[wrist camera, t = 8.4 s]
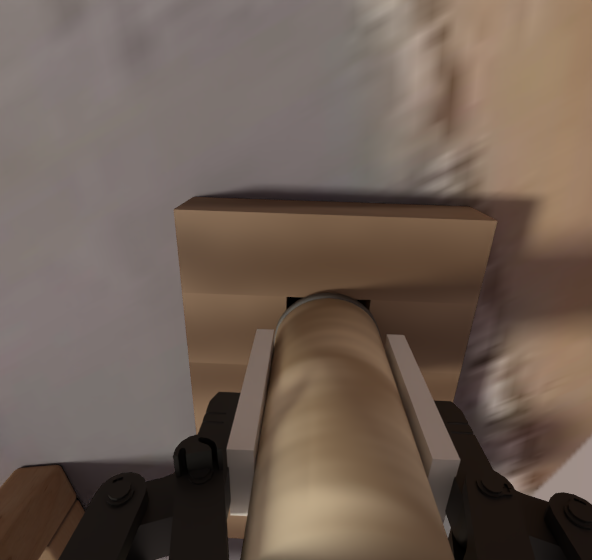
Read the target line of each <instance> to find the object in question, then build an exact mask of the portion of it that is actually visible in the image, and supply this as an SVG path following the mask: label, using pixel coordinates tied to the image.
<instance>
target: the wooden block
mask: <svg viewBox="0 0 592 560" xmlns="http://www.w3.org/2000/svg"><path fill="white" fill-rule="evenodd" d="M84 513H85V511H84V509H83V507H82V506H81V504H80V502H79V501H78V500H76V493H75V491H74V489H73V488H72V486H71V484H70V482H69V480H68V478H67V476H66V474H65V473H64V471H63V469H62V467H61V466H59V465H48V466H36V467H24V468H18V469H17V470H15V471H14V472H13V473H12V474H11V476H10V477H9V478H8V479H7V480H6V481H5V483H4V484H3V485H2V486H1V487H0V560H58V559H59V557H60V555H61V554H62V552H63V550H64V548H65V547H66V545H67V543H68V541H69V540H70V538H71V536H72V534H73V532H74V531H75V529H76V527H77V525H78V524H79V522H80V520H81V518H82V517H83V515H84Z"/></svg>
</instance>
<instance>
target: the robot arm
mask: <svg viewBox="0 0 592 560" xmlns="http://www.w3.org/2000/svg"><path fill="white" fill-rule="evenodd" d="M273 351H274V330H270V329H257V331H256V335H255V339H254V343H253V346H252V350H251V354H250V358H249V362H248V366H247V370H246V374H245V378H244V382H243V386H242V390H241V393H237V392H218V393H217V394H216V395H215V396H214V397H213V398H212V399H211V400H210V401H209V404H208V407H207V410H206V414H205V415H204V418H203V422H202V424H201V427H200V429H199V432H198V434H197V435H194V436H190V437H188V438H187V439H185V440H183V441H182V442H181V443H180V444H179V445H178V446H177V447H176V449H175V452H174V455H173V459H174V466H175V473H173V474H171V475H169V476H166V477H163V478H160V479H155V480H151V481H147V482H145V479H144V478H143V477H142V476H141V475H139V474H136V473H132V472H129V473H121V474H119V475H117V476H114V477H112V478H110V479H109V480H108V481H106V482H105V483H104V484H102V486H101V487H100V488H99V489H98V491H97V492H96V494H95V495H94V497H93V499H92V501H91V502H90V504H89V506H88V508H87V509H86V511H85V513H84V515H83V517H82V518H81V520H80V522H79V524H78V525H77V527H76V529H75V531H74V532H73V534H72V536H71V538H70V540H69V541H68V543H67V545H66V547H65V548H64V550H63V552H62V554H61V555H60V557H59V559H58V560H155V559H159V558H162V557H165V556H169V560H229V550H228V530H227V518H228V513H229V508H230V515H235V516H247V514H248V508H249V502H250V495H251V489H252V483H253V477H254V472H255V466H256V459H257V453H258V447H259V440H260V434H261V427H262V421H263V415H264V408H265V402H266V395H267V389H268V383H269V376H270V370H271V364H272V357H273ZM385 353H386V356H387V359H388V362H389V365H390V368H391V371H392V374H393V377H394V380H395V383H396V386H397V389H398V392H399V394H400V397H401V400H402V403H403V406H404V409H405V412H406V415H407V418H408V421H409V424H410V427H411V430H412V433H413V436H414V439H415V442H416V445H417V448H418V451H419V454H420V457H421V460H422V463H423V466H424V469H425V472H426V475H427V478H428V481H429V484H430V487H431V490H432V493H433V496H434V499H435V502H436V505H437V508H438V511H439V514H440V517H441V520H442V523H443V522H444V519H445V515H447V518H448V520H449V523H450V526H451V530H450V534H449V537H448V541H449V544H450V547H451V550H452V553H453V556H454V559H455V560H592V505H591V504H590V503H589V502H587V501H586V500H584V499H582V498H580V497H578V496H576V495H574V494H569V493H556V494H554V495H553V496H552V497H551V498H550V500H549V502H547V501H544V500H541V499H538V498H535V497H532V496H528V495H525V494H523V493H520V492H518V491H516V490H515V489H514V487H513V485H512V484H511V483H510V482H509V481H508V480H507V479H506V478H505V477H503V476H502V475H500V474H499V473H497V472H495V471H494V470H493V469H492V467H491V465H490V463H489V461H488V459H487V457H486V456H485V454H484V452H483V450H482V448H481V446H480V444H479V442H478V441H477V439H476V437H475V435H473V431H472V429H471V427H470V426H469V425H468V422H467V420H466V418H465V416H464V414H463V412H462V411H461V410H460V409H459V408H458V407H457V406H456V405H455V404H454V403H452V402H451V401H436V400H433V398H432V396H431V394H430V391H429V389H428V387H427V385H426V382H425V380H424V378H423V376H422V374H421V371H420V369H419V367H418V365H417V362H416V360H415V358H414V356H413V354H412V351H411V349H410V347H409V345H408V342H407V340H406V338H405V336H404V335H391V334H387V336H386V343H385Z"/></svg>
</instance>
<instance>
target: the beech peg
mask: <svg viewBox="0 0 592 560" xmlns="http://www.w3.org/2000/svg"><path fill="white" fill-rule="evenodd" d="M240 560H455V559H454V556H453V553H452V550H451V547H450V544H449V541H448V538H447V535H446V532H445V529H444V526H443V523H442V520H441V517H440V514H439V511H438V508H437V505H436V502H435V499H434V496H433V493H432V490H431V487H430V484H429V481H428V478H427V475H426V472H425V469H424V466H423V463H422V460H421V457H420V454H419V451H418V448H417V445H416V442H415V439H414V436H413V433H412V430H411V427H410V424H409V421H408V418H407V415H406V412H405V409H404V406H403V403H402V400H401V397H400V394H399V392H398V389H397V386H396V383H395V380H394V377H393V374H392V371H391V368H390V365H389V362H388V359H387V356H386V353H385V350H384V347H383V344H382V341H381V336H380V332H379V328H378V325H377V323H376V320H375V318H374V317H373V315H372V313H371V312H370V311H369V310H368V309H367V308H366V307H365V306H364V305H363V304H362V303H360V302H359V301H357V300H355V299H353V298H351V297H349V296H346V295H343V294H338V293H317V294H313V295H309V296H306V297H303V298H302V299H300V300H298V301H296V302H295V303H293V304H292V305H291V306H290V307H289V308H288V309H287V310H286V311H285V312H284V313H283V314H282V316H281V318H280V319H279V321H278V324H277V326H276V331H275V336H274V351H273V357H272V364H271V370H270V376H269V383H268V389H267V395H266V402H265V408H264V415H263V421H262V427H261V434H260V440H259V447H258V453H257V459H256V466H255V472H254V477H253V483H252V489H251V495H250V502H249V508H248V514H247V521H246V527H245V533H244V540H243V546H242V552H241V559H240Z"/></svg>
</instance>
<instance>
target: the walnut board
mask: <svg viewBox="0 0 592 560" xmlns="http://www.w3.org/2000/svg"><path fill="white" fill-rule="evenodd" d="M174 217H175V227H176V237H177V246H178V256H179V266H180V276H181V286H182V296H183V306H184V315H185V325H186V335H187V345H188V355H189V365H190V375H191V384H192V394H193V404H194V414H195V424H196V434H198V432H199V429H200V427H201V424H202V422H203V418H204V415H205V414H206V410H207V407H208V404H209V401H210V400H211V399H212V398H213V397H214V396H215V395H216V394H217V393H218V392H237V393H241V390H242V386H243V382H244V378H245V374H246V370H247V366H248V362H249V358H250V354H251V350H252V346H253V343H254V339H255V335H256V331H257V329H270V330H274V336H275V331H276V326H277V324H278V321H279V319H280V318H281V316H282V314H283V313H284V312H285V311H286V310H287V309H288V308H289V297H306V296H309V295H313V294H317V293H338V294H343V295H346V296H349V297H351V298H353V299H357V300H360V303H362V304H363V305H364V306H365V307H366V308H367V309H368V310H369V311H370V312H371V313H372V315H373V317H374V318H375V320H376V323H377V325H378V328H379V332H380V336H381V341H382V344H383V347H384V350H385V343H386V336H387V334H391V335H404V336H405V338H406V340H407V342H408V345H409V347H410V349H411V351H412V354H413V356H414V358H415V360H416V362H417V365H418V367H419V369H420V371H421V374H422V376H423V378H424V380H425V382H426V385H427V387H428V389H429V391H430V394H431V396H432V398H433V400H436V401H451V402H452V403H453V400H454V396H455V392H456V388H457V384H458V380H459V376H460V372H461V368H462V364H463V360H464V356H465V351H466V347H467V343H468V339H469V335H470V331H471V327H472V323H473V319H474V315H475V311H476V307H477V303H478V298H479V294H480V290H481V286H482V282H483V278H484V274H485V270H486V266H487V262H488V258H489V254H490V250H491V246H492V241H493V237H494V233H495V229H496V225H497V220H495V219H493V218H491V217H489V216H487V215H485V214H483V213H481V212H479V211H478V210H476V209H474V208H472V207H470V206H444V205H415V204H386V203H357V202H328V201H299V200H270V199H241V198H211V197H192V198H191V199H189V200H188V201H186V202H185V203H183V204H182V205H180V206H178V207H177V208H175V209H174ZM246 521H247V516H235V515H230V508H229V513H228V518H227V530H228V538H242V539H244V533H245V527H246Z"/></svg>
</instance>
